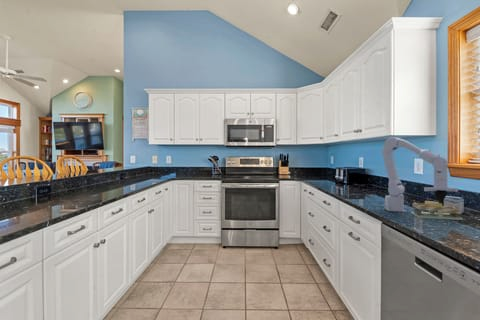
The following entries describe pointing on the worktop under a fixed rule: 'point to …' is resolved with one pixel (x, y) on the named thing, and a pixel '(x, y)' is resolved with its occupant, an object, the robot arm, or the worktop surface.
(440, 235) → the worktop surface
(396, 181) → the robot arm
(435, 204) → the slider
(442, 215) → the stand
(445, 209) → the flat elongated piece
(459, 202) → the medicine box
